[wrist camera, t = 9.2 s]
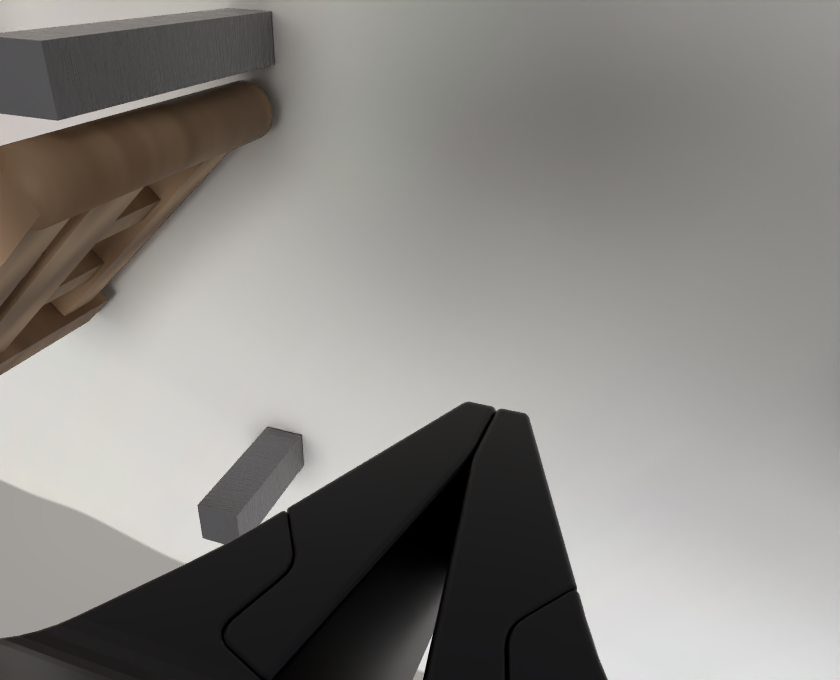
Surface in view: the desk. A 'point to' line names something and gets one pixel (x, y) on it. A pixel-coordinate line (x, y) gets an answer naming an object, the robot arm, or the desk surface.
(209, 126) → the walnut gate
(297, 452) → the dark grey square post
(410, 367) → the desk surface
